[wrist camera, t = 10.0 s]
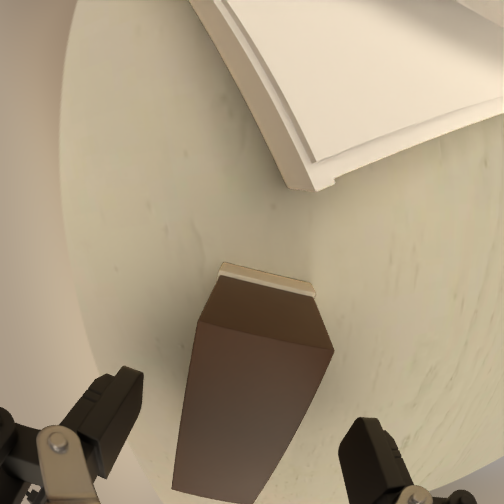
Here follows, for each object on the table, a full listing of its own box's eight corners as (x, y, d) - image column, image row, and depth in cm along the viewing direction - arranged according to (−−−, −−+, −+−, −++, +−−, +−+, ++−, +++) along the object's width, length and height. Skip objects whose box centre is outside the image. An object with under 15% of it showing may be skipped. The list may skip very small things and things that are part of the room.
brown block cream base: (223, 261, 15) (195, 314, 9) (311, 283, 15) (340, 346, 9) (190, 419, 18) (169, 490, 12) (256, 434, 18) (252, 507, 12)
